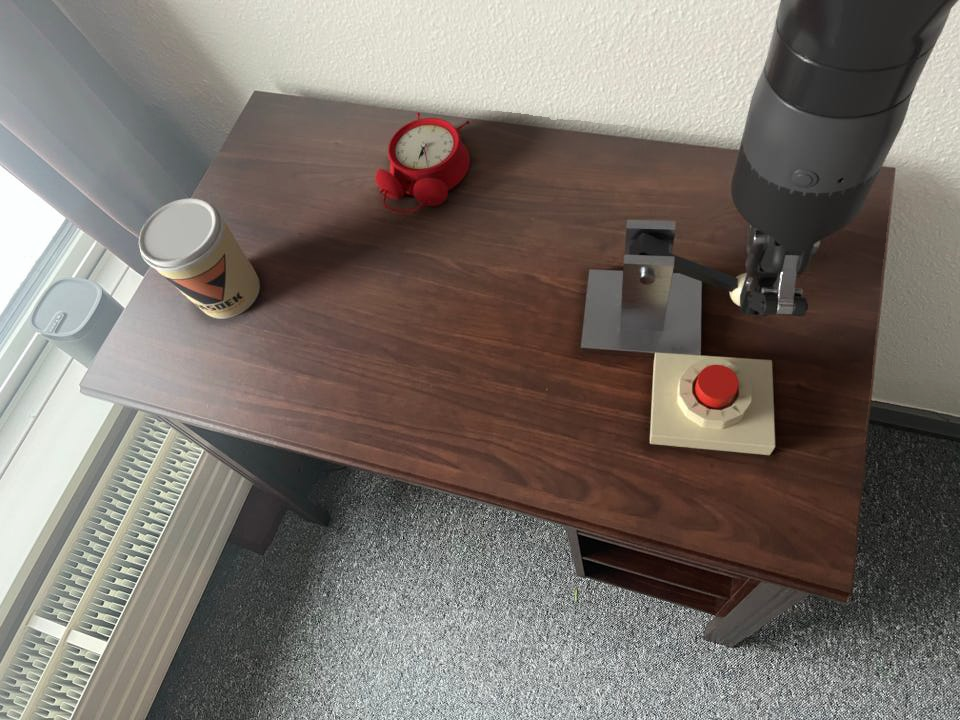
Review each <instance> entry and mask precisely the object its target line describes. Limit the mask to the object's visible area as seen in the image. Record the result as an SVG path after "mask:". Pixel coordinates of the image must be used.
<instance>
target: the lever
mask: <svg viewBox="0 0 960 720" xmlns="http://www.w3.org/2000/svg"><path fill="white" fill-rule="evenodd" d="M629 255H649V256H674V257H675V258H674V269H673V273H680V274H682V275H685V276H688V277H691V278H693V279H696V280H699V281H702V283H704V284H708V285H710V286H713V287H716V288H718V289H721V290H723V291H727V292H729V297H730V299H731V301H732V302H733V303H734V304H735V305H737V306H738V307H740V294H741V291H742V287H743V284H744V281H745V278H746V275H747V272H744V273H740V274H739V275H737V276H733V275H730V274H727V273H724V272H722V271H720V270H717V269H714V268H711V267H708V266H706V265H703V264H701V263H698V262H696V261H692V260H689V259H686V258H684V257H682V256H678V255H676V254H673V253H672V254H671V253H669V242H666V241H664V240H661V239H658V238H656V237H653V236H650V235H648V234H645V233H642V234H641V235H640V236H639V238H638V239H637V240H636V241H635V242H634V243H633V244H632V245H631V246H630V250H629Z"/></svg>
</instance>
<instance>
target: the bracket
mask: <svg viewBox="0 0 960 720" xmlns="http://www.w3.org/2000/svg"><path fill="white" fill-rule="evenodd" d="M625 227H626V228H625V244H624V255H623V265H622V269H623V270H616V269H615V270H614V269H592V268H590V269H589V270H588V276H587V283H586V284H587V285H586V296H585V304H584V314H583V322H582V331H581V332H582V333H581V343H580V353H582V354H591V355H609V356H623V357H636V358H637V357H638V358H650V359H654V358H655V353H656V352H657V353H671V354H686V355H701V356H702V307H703V305H702V304H703V303H702V300H703V299H702V297H703V293H702V292H703V290H702V289H703V282H702V281H699V280H696V279H693V278H691V277H688V276H685V275H682V274H680V273H677V272H674V271H673V269H674V258H675V257H674V256H649V255H629V250H630V246H631V245H632V244H633V243H634V242H635V241H636V240H637V239H638V238H639V236H640V235H641V234H642V233H645V234H648V235H650V236H653V237H656V238H658V239H661V240H664V241H666V242H669V253H671V254H673V247H674V241H675V236H676V229H677V228H676V227H677V221H676V220H653V219H652V220H651V219H626V226H625Z"/></svg>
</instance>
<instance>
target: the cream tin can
mask: <svg viewBox="0 0 960 720" xmlns="http://www.w3.org/2000/svg"><path fill="white" fill-rule="evenodd" d="M138 247H139V252H140V255H141V257H142V260H144V262H145V263H146V264H147V265H148V266H150V267H151V268H153V269H155V270H156V271H157V272H158V273H159V274H160V275H161V276H162V277H163V278H164V279H165V280H166V281H168V282H169V283H170V284H171V285H172V286H174V288H176V289H177V290H178V291H179V292H180V293H181V294H182V295H184V297H186V299H188V300H189V301H190V302H191V303H193V304H194V305H195V306H196V307H197V308H198V309H200V310H201V311H202V312H203V313H204V314H206V315H207V316H209V317H211V318H214V319H219V320H220V319H221V320H222V319H223V320H224V319H230V318H233V317H236V316H238V315H241V314H242V313H244V312H245V311H247V310H248V309H249V308H250V307H251V306H253V304H254V302H255V301H256V299H257V298H258V295H259V293H260V288H261V287H260V285H261V284H260V283H261V282H260V279H259V276H258V274H257V273H256V270H255V269H254V266H252V264H251V262H250V261H249V259H248V257H247V256H246V254H245V252H244V251H243V249H242V247H241V245H240V244H239V242H238V240H237V239H236V237H235V236H234V234H233V232H232V231H231V229H230V228H229V226H228V224H227V223H226V221H225V219H224V217H223V215H222V213H221V211H220V210H219V209H218V207H216V206H215V205H213V204H212V203H210V202H208V201H205V200H204V199H200V198H191V197H190V198H182V199H177V200H174V201H171V202H169V203H167V204H165V205H163V206H161V207H160V208H158V209H157V210H155V212H154V213H152V215H150V216H149V217H148V218H147V220H146V221H145V222H144V224H143V225H142V228H141V230H140V233H139V237H138Z"/></svg>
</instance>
